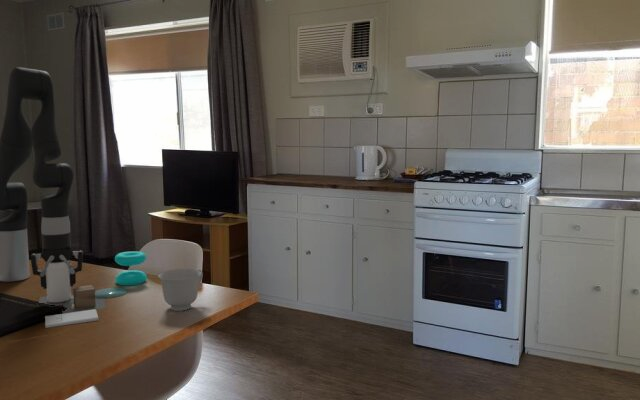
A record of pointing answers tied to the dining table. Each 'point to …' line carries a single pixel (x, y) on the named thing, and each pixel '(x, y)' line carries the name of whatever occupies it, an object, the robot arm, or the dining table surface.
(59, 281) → the can
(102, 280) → the dining table surface
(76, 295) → the walnut block
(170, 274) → the teacup
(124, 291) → the coaster
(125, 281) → the donuts
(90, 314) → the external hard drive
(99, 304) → the tile
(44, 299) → the tile
